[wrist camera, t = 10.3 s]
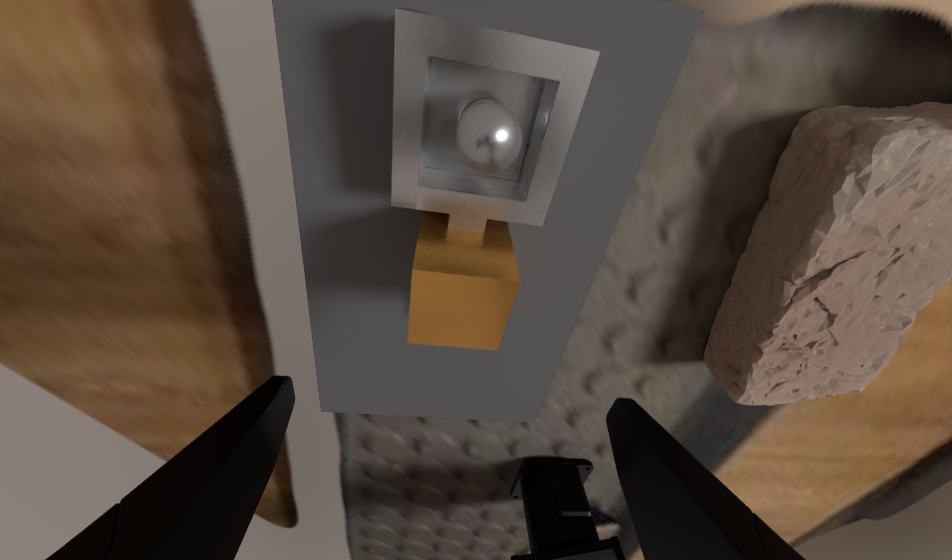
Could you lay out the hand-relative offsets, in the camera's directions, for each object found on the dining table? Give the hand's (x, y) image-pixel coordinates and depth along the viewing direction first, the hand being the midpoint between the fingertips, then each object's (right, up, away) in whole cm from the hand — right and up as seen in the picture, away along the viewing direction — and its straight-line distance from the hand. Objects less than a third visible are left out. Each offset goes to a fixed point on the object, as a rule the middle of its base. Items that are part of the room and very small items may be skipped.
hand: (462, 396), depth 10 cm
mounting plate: (-1, +4, +10) cm, 11 cm away
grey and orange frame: (0, +7, +7) cm, 10 cm away
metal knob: (+1, +10, +5) cm, 12 cm away
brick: (+20, +5, +12) cm, 23 cm away
